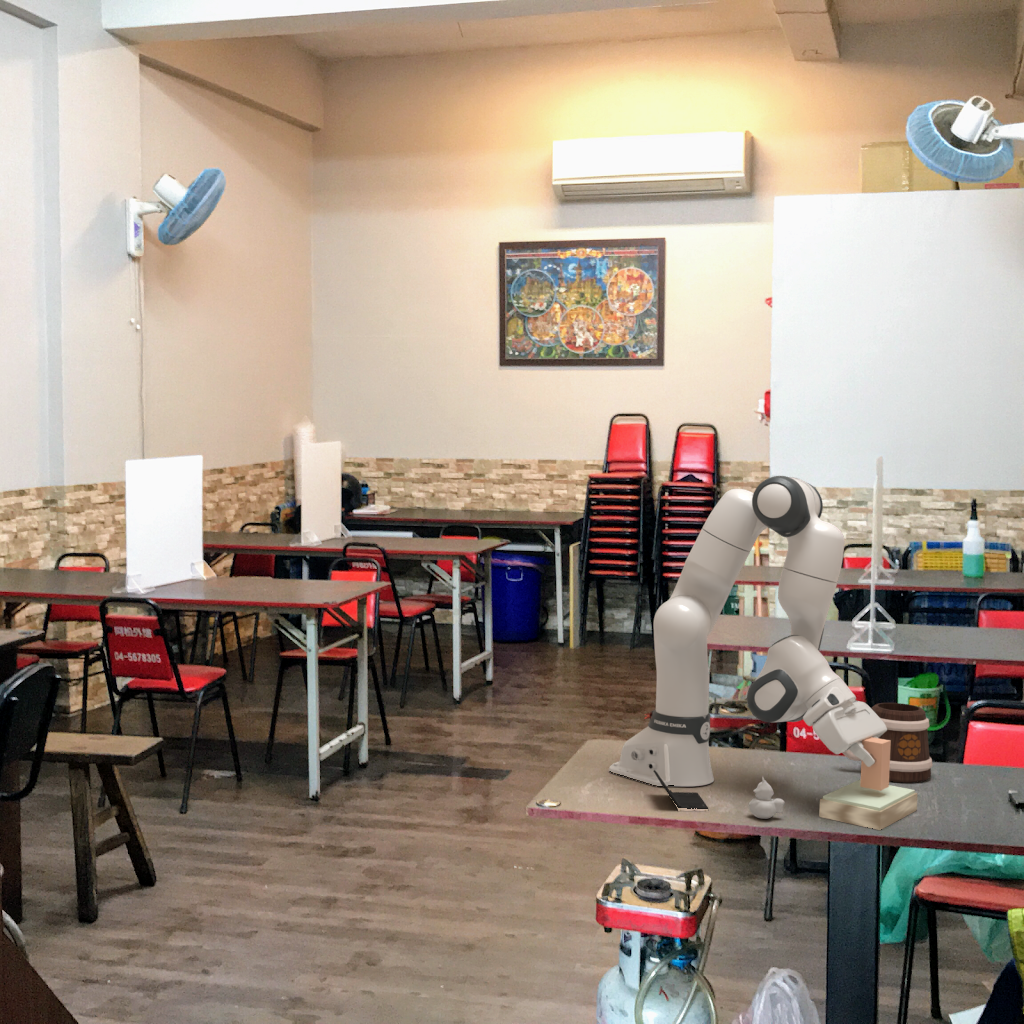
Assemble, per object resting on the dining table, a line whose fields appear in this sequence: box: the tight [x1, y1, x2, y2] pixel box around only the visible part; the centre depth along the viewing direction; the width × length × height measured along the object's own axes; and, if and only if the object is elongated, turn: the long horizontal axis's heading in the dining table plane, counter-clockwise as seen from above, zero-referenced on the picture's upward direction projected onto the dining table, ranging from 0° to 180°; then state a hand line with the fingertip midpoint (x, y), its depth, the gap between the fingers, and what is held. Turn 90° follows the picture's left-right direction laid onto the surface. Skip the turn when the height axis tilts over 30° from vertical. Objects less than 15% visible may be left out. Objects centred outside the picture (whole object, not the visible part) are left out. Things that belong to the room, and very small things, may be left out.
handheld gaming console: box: [654, 770, 709, 810], centre depth 234 cm, size 12×7×10 cm
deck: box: [818, 778, 918, 831], centre depth 231 cm, size 12×18×4 cm, turn 140°
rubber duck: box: [748, 775, 786, 820], centre depth 226 cm, size 5×7×8 cm
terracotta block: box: [860, 737, 891, 791], centre depth 230 cm, size 4×4×9 cm
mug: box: [842, 702, 934, 784], centre depth 261 cm, size 20×15×15 cm
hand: (878, 762), depth 229 cm, fingers closed on terracotta block, 4 cm apart
